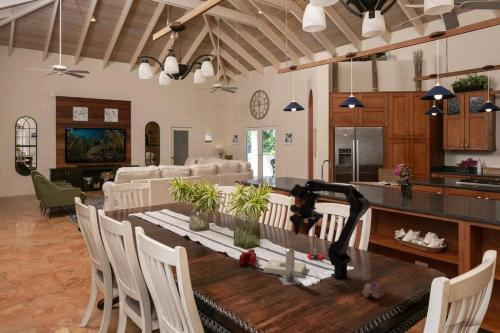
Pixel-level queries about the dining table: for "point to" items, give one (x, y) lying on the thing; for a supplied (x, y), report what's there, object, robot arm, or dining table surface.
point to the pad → (289, 282)
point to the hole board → (283, 267)
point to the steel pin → (290, 265)
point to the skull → (373, 290)
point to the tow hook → (315, 252)
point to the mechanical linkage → (248, 258)
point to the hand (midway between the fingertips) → (301, 232)
